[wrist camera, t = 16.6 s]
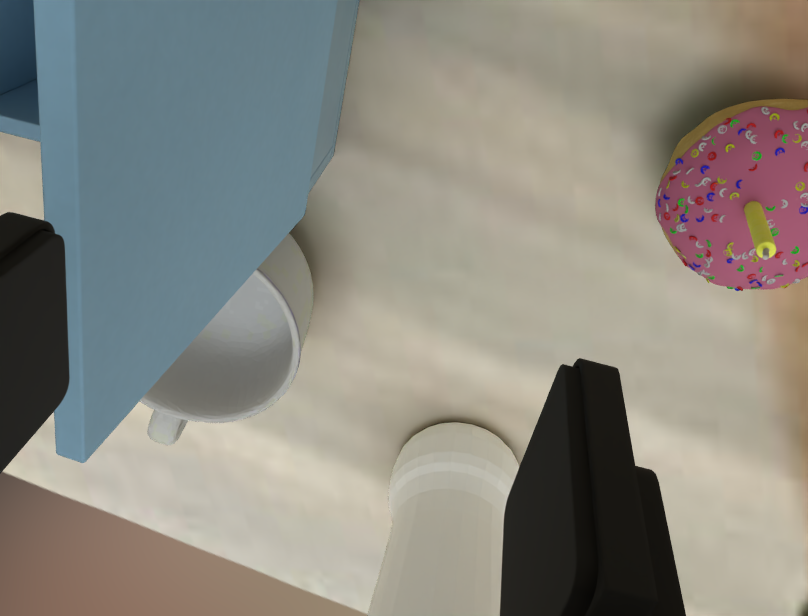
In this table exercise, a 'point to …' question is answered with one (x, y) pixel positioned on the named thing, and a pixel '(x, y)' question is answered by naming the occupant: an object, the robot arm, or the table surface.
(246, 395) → the teacup
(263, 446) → the table surface
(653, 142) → the table surface
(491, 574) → the bottle
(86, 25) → the lid
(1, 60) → the box
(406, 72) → the table surface
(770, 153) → the cupcake
